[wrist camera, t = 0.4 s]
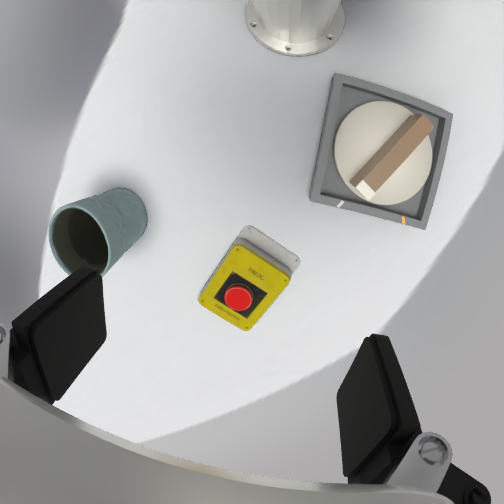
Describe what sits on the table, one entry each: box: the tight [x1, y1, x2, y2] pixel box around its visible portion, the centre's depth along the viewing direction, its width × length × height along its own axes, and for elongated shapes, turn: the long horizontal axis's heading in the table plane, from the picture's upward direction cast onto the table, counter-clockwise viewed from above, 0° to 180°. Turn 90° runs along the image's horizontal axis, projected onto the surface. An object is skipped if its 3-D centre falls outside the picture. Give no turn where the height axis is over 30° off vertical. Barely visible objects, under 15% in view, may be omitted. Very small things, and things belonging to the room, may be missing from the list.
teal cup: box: [49, 188, 147, 277], centre depth 37 cm, size 10×10×12 cm
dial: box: [333, 101, 434, 205], centre depth 31 cm, size 13×13×6 cm
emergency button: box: [198, 226, 300, 331], centre depth 43 cm, size 9×4×15 cm
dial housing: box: [309, 73, 453, 230], centre depth 34 cm, size 16×16×3 cm
